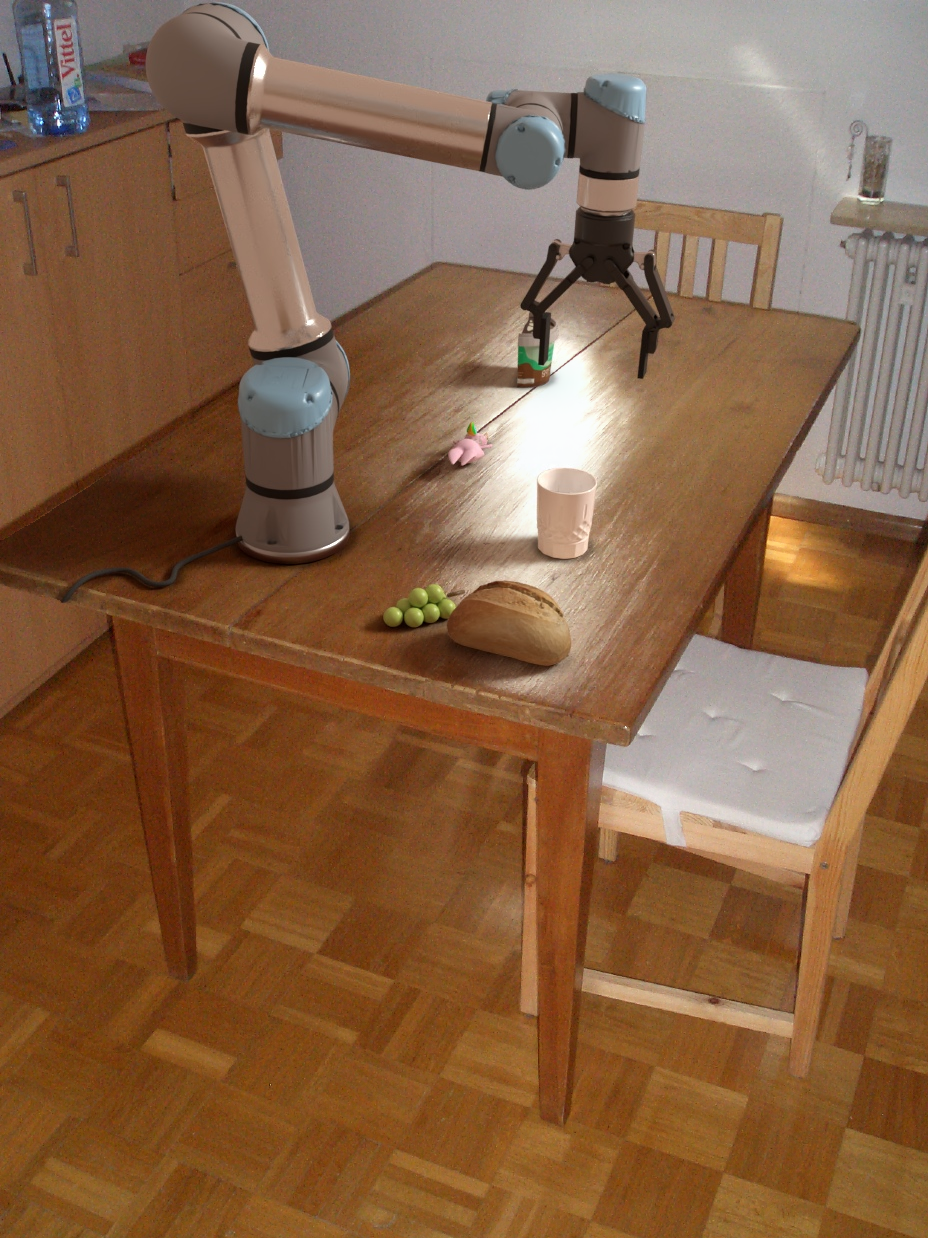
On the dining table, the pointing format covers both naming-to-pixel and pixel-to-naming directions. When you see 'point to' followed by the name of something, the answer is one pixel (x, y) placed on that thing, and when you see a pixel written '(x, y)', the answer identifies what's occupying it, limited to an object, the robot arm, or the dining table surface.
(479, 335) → the dining table surface
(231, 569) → the dining table surface
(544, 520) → the white cup
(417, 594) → the grapes
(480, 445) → the rabbit figure
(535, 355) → the food container
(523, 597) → the bread roll
